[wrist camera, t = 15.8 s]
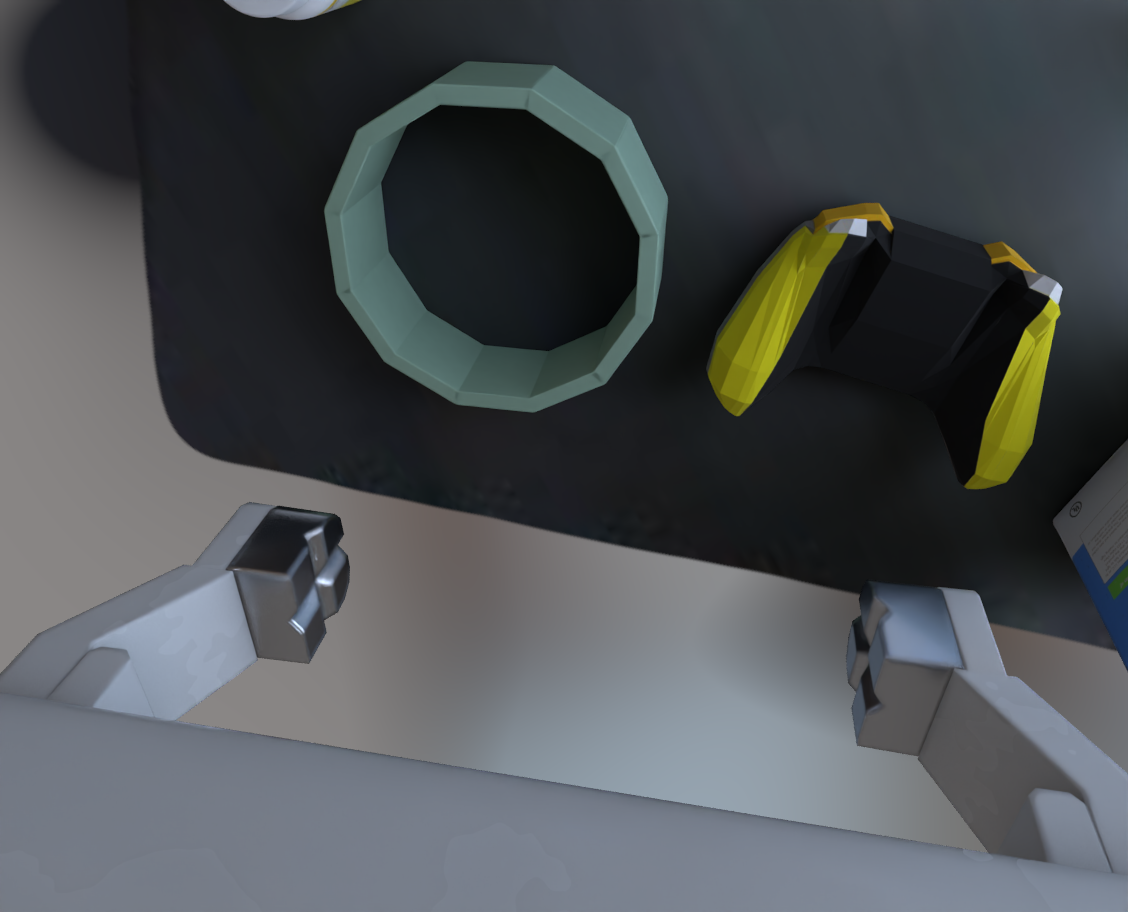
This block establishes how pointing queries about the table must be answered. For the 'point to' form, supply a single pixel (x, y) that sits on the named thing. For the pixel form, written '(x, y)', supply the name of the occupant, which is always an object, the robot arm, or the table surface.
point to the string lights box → (1102, 543)
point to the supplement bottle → (287, 7)
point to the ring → (433, 343)
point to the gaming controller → (900, 329)
